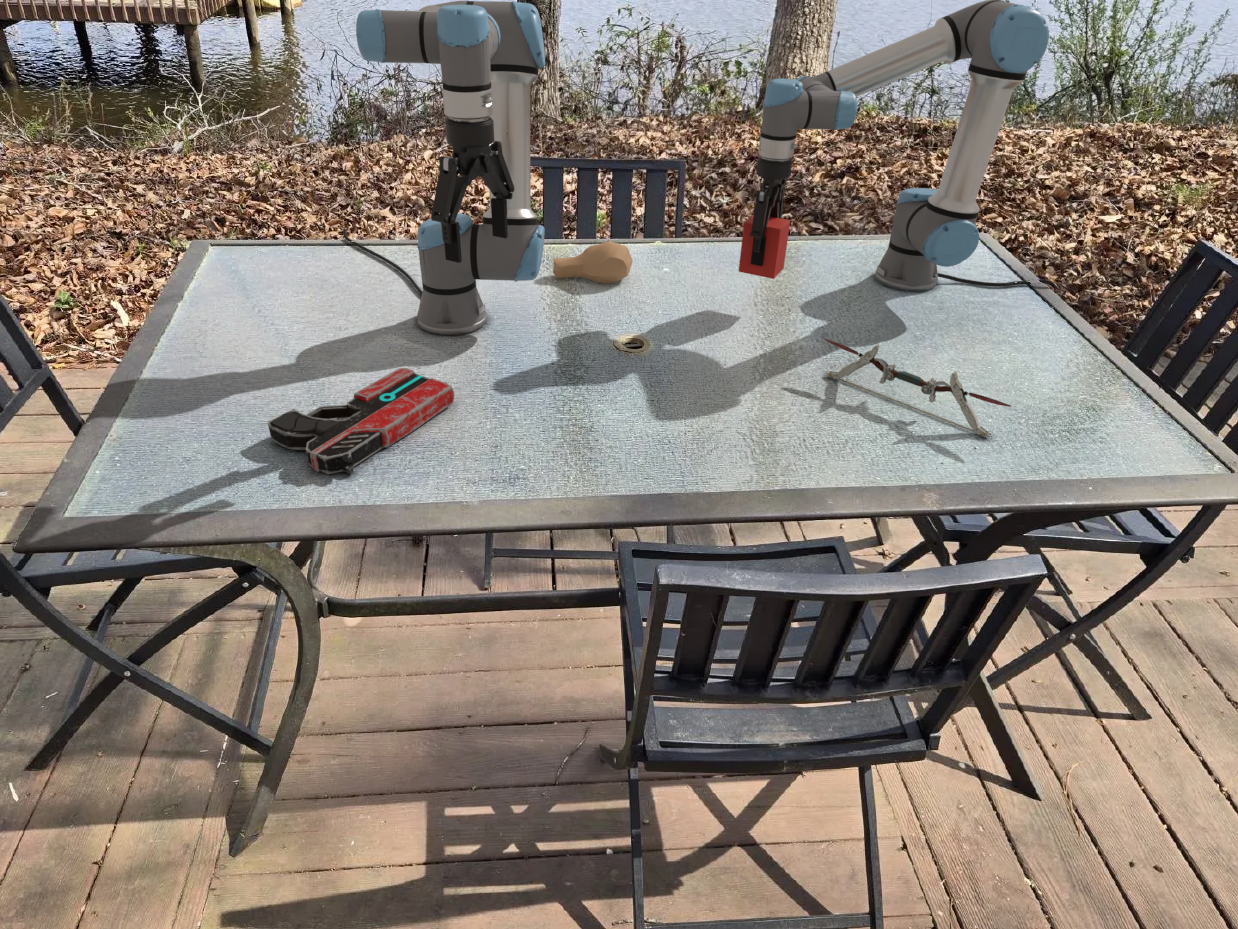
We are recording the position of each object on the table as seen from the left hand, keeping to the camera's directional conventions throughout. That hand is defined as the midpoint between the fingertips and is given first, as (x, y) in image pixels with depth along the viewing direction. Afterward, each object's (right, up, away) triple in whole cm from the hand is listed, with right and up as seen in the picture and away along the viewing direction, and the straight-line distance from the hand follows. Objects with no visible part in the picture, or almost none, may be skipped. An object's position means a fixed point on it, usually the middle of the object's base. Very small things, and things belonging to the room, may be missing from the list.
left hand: (477, 248), depth 149 cm
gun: (-22, -30, +10) cm, 38 cm away
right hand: (+57, +11, +53) cm, 79 cm away
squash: (+17, +10, +71) cm, 74 cm away
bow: (+79, -25, +21) cm, 86 cm away
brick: (+57, +8, +54) cm, 79 cm away
